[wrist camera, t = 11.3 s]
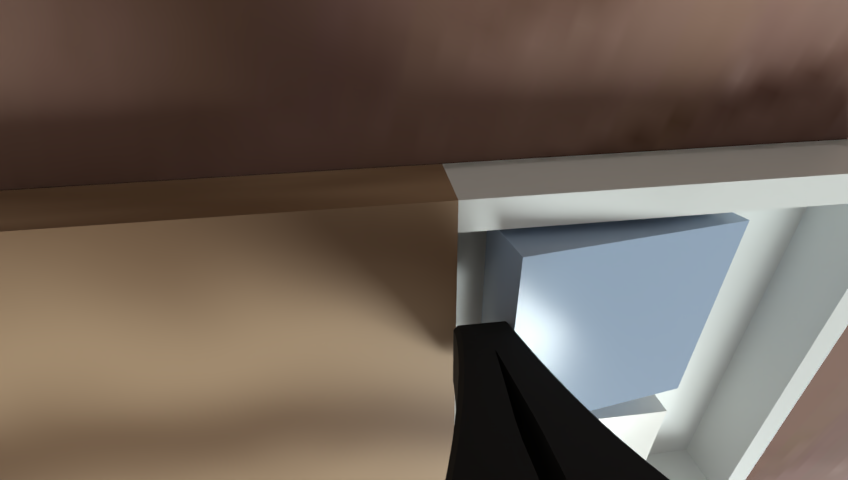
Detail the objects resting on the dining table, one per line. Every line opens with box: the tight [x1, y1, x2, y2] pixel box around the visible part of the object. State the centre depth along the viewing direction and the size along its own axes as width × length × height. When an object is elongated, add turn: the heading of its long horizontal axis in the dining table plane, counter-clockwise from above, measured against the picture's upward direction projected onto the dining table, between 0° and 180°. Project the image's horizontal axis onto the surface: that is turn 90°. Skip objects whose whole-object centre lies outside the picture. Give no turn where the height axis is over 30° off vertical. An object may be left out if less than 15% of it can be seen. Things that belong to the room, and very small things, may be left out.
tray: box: [443, 139, 848, 480], centre depth 14 cm, size 15×12×2 cm
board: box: [0, 164, 458, 480], centre depth 13 cm, size 15×14×2 cm
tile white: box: [590, 394, 667, 460], centre depth 15 cm, size 6×6×2 cm
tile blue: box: [481, 212, 750, 411], centre depth 11 cm, size 6×6×2 cm
